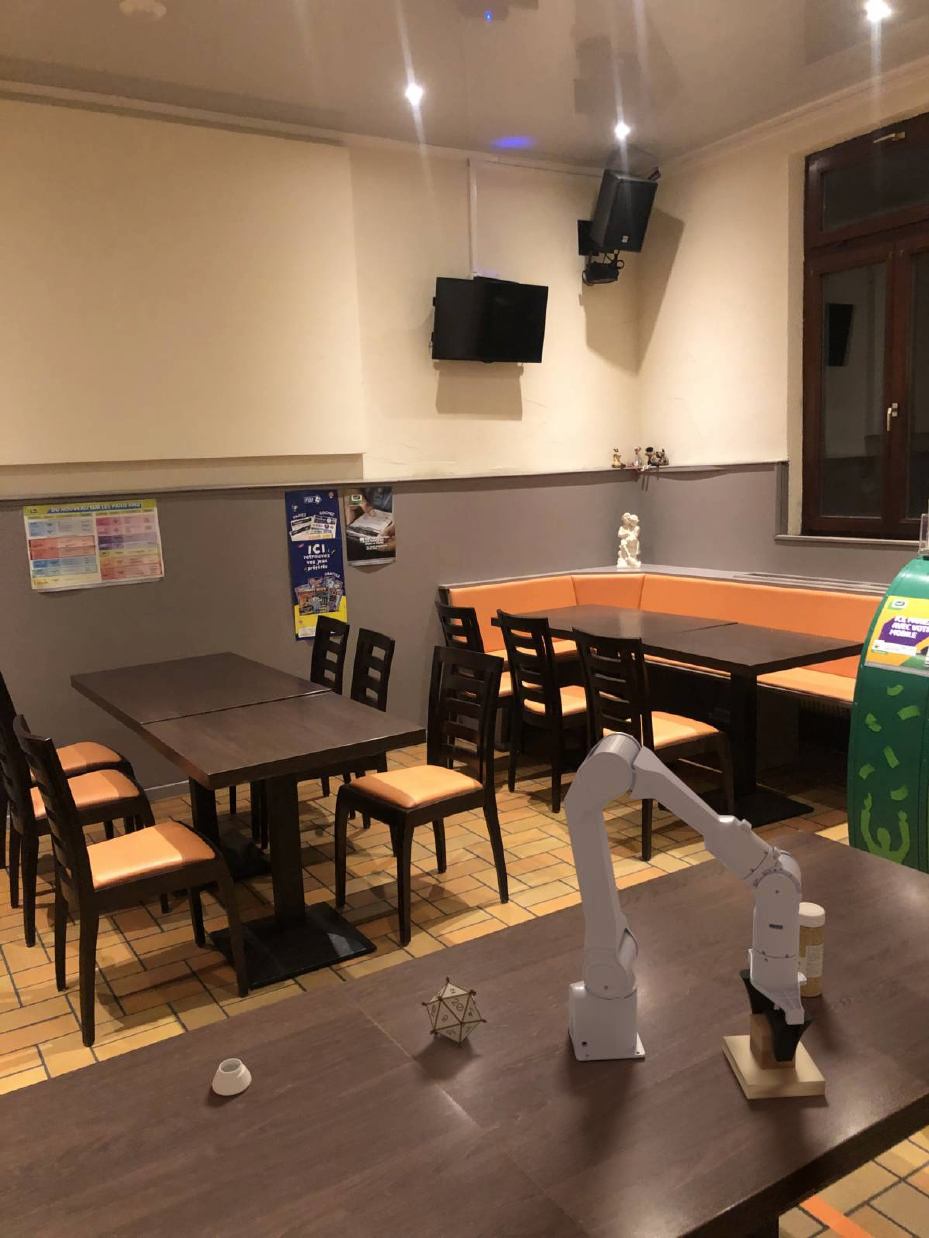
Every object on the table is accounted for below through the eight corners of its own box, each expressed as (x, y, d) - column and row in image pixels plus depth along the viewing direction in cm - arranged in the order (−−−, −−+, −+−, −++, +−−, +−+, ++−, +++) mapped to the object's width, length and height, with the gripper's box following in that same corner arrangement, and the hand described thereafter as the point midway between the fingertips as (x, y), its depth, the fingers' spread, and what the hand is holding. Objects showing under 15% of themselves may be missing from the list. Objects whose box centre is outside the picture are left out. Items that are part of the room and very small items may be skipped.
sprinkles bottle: (785, 982, 144) (787, 902, 141) (813, 980, 144) (816, 899, 142) (798, 999, 139) (801, 916, 137) (827, 997, 140) (831, 914, 137)
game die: (469, 1058, 134) (509, 1012, 131) (429, 1067, 128) (470, 1019, 125) (438, 1005, 140) (476, 960, 137) (399, 1011, 133) (437, 964, 131)
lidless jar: (205, 1093, 123) (237, 1101, 121) (203, 1073, 123) (235, 1081, 121) (227, 1069, 128) (258, 1077, 126) (225, 1050, 127) (256, 1057, 125)
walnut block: (761, 1069, 121) (762, 1034, 120) (749, 1047, 125) (750, 1014, 124) (795, 1067, 121) (796, 1032, 120) (782, 1046, 125) (783, 1012, 125)
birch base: (747, 1098, 118) (748, 1084, 118) (723, 1049, 128) (723, 1036, 128) (824, 1094, 119) (825, 1080, 118) (794, 1045, 129) (794, 1032, 128)
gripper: (829, 975, 113) (825, 1075, 116) (784, 917, 128) (781, 1007, 130) (772, 978, 113) (770, 1078, 116) (734, 920, 127) (732, 1010, 130)
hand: (772, 1041), depth 123 cm, fingers open, 7 cm apart
